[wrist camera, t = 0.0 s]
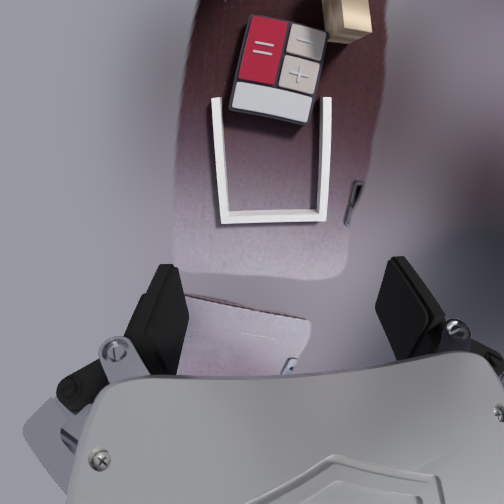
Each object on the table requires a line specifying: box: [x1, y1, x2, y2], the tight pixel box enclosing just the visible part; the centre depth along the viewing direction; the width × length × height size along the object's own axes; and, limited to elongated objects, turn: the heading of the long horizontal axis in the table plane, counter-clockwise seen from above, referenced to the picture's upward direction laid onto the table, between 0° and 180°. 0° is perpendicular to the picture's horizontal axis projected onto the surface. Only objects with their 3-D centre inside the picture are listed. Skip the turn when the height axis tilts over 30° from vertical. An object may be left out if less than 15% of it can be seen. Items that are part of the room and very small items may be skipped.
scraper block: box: [322, 0, 372, 44], centre depth 22 cm, size 11×4×9 cm, turn 3°
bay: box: [211, 97, 331, 224], centre depth 38 cm, size 19×16×2 cm
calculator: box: [228, 14, 329, 126], centre depth 30 cm, size 11×4×15 cm
